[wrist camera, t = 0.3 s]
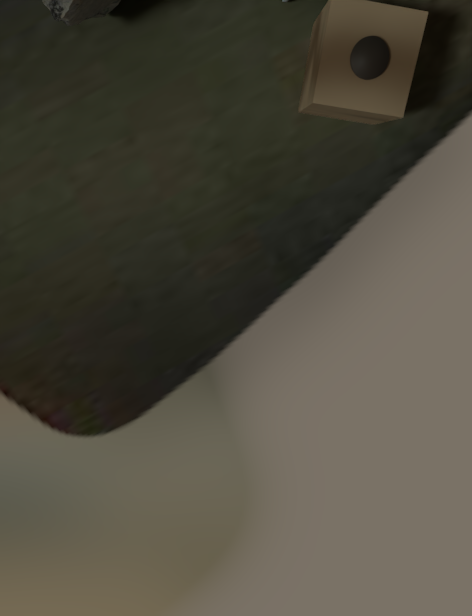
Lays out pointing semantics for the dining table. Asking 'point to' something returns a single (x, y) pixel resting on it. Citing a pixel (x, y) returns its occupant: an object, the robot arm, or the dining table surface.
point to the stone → (79, 9)
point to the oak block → (361, 61)
